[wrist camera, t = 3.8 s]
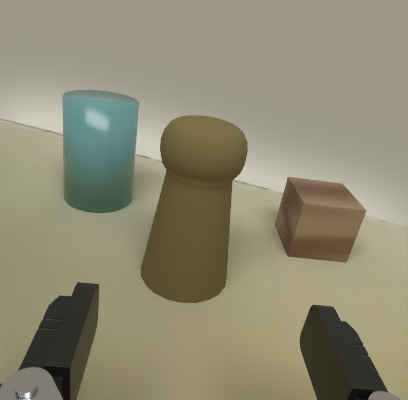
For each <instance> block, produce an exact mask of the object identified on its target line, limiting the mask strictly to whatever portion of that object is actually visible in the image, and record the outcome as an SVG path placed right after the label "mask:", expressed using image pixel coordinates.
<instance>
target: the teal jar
mask: <svg viewBox="0 0 408 400" xmlns="http://www.w3.org/2000/svg"><path fill="white" fill-rule="evenodd" d="M138 109H139V102H138V101H137V100H136V99H134V98H132V97H129V96H126V95H123V94H118V93H113V92H107V91H97V90H76V91H70V92H66V93H64V94H63V158H64V199H65V201H66V203H67V204H69V205H70V206H72V207H74V208H76V209H78V210H82V211H86V212H94V213H106V212H113V211H117V210H120V209H123V208H125V207H126V206H128V205H129V204H130V203H131V200H132V189H133V176H134V162H135V148H136V136H137V122H138Z"/></svg>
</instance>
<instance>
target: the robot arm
mask: <svg viewBox="0 0 408 400" xmlns="http://www.w3.org/2000/svg"><path fill="white" fill-rule="evenodd" d="M98 303H99V284H91V283H80V282H78V283H77V284H76V287H75V289H74V292H73V294H72V296H59V297H58V298H57V299H56V300H54V301H53V302H52V303H51V304H50V305H49V306H48V309H47V311H46V313H45V315H44V317H43V320H42V321H41V324H40V326H39V329H38V330H37V332H36V334H35V336H34V338H33V341H32V343H31V345H30V347H29V349H28V351H27V353H26V356H25V358H24V360H23V362H22V364H21V366H20V368H19V370H18V371H17V372H15V373H13V374H12V375H10V376H9V377H8V378H7V379H6V380H5V381H4V382H3V383H2V384H0V400H76V399H77V395H78V392H79V388H80V385H81V381H82V378H83V374H84V371H85V367H86V364H87V360H88V357H89V353H90V350H91V346H92V343H93V339H94V336H95V332H96V327H97V321H98ZM300 348H301V352H302V355H303V358H304V361H305V364H306V367H307V370H308V373H309V376H310V379H311V382H312V385H313V388H314V391H315V394H316V397H317V400H400V399H399V398H398V397H396V396H394V395H393V394H390V393H388V391H387V389H386V387H385V385H384V383H383V381H382V379H381V378H380V376H379V374H378V372H377V370H376V368H375V366H374V364H373V362H372V360H371V359H370V357H368V353H367V351H366V349H365V347H363V343H362V341H361V340H360V338H359V336H358V334H357V332H356V331H355V330H354V329H353V328H352V327H351V326H350V325H349V324H348V323H347V322H344V321H341V320H340V318H339V316H338V314H337V312H336V310H335V309H334V307H332V306H321V305H312V306H311V308H310V310H309V313H308V315H307V318H306V321H305V324H304V326H303V329H302V332H301V335H300Z"/></svg>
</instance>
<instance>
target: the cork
mask: <svg viewBox="0 0 408 400" xmlns="http://www.w3.org/2000/svg"><path fill="white" fill-rule="evenodd" d="M160 151H161V158H162V163H163V164H164V166H165V168H166V170H167V171H166V175H165V179H164V183H163V186H162V190H161V194H160V198H159V202H158V206H157V209H156V213H155V217H154V221H153V225H152V228H151V232H150V236H149V240H148V244H147V248H146V251H145V255H144V259H143V263H142V267H141V276H142V278H143V280H144V282H145V284H146V285H147V286H148V287H149V288H150V289H151V290H152V291H153V292H154V293H156V294H158V295H160V296H162V297H164V298H166V299H170V300H174V301H178V302H195V303H196V302H200V301H205V300H209V299H211V298H213V297H214V296H216V295H218V294H219V293H220V292H221V291H222V289H223V288H224V287H225V282H226V274H227V258H228V242H229V226H230V210H231V194H232V180H234V179H235V178H236V177H237V176H238V175H239V174H240V173H241V171H242V169H243V167H244V165H245V161H246V156H247V152H248V151H247V140H246V138H245V135H244V133H243V132H242V131H241V130H240V129H239V128H238V127H237V126H235V125H233V124H232V123H229V122H226V121H224V120H221V119H217V118H213V117H207V116H191V115H190V116H182V117H178V118H176V119H174V120H172V121H171V122H170V123H169V124H168V125H167V127H166V128H165V129H164V132H163V134H162V137H161V144H160Z"/></svg>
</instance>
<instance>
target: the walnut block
mask: <svg viewBox="0 0 408 400" xmlns="http://www.w3.org/2000/svg"><path fill="white" fill-rule="evenodd" d="M365 213H366V210H365V208H364V207H363V206H362V205H361V204H360V203H359V202H358V201H357V200H356V199H355V197H354V196H353V195H352V194H351V193H350V192H349V191H348V189H347V188H346V187H345V186H344V185H343V184H340V183H333V182H324V181H317V180H309V179H301V178H293V177H288V179H287V183H286V186H285V190H284V194H283V197H282V201H281V205H280V208H279V212H278V216H277V219H276V223H275V226H276V229H277V231H278V234H279V236H280V239H281V241H282V243H283V246H284V248H285V251H286V253H287V255H288V256H289V257H298V258H308V259H318V260H327V261H337V262H347V259H348V257H349V254H350V251H351V249H352V246H353V244H354V241H355V239H356V236H357V234H358V231H359V228H360V226H361V223H362V221H363V218H364V216H365Z"/></svg>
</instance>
